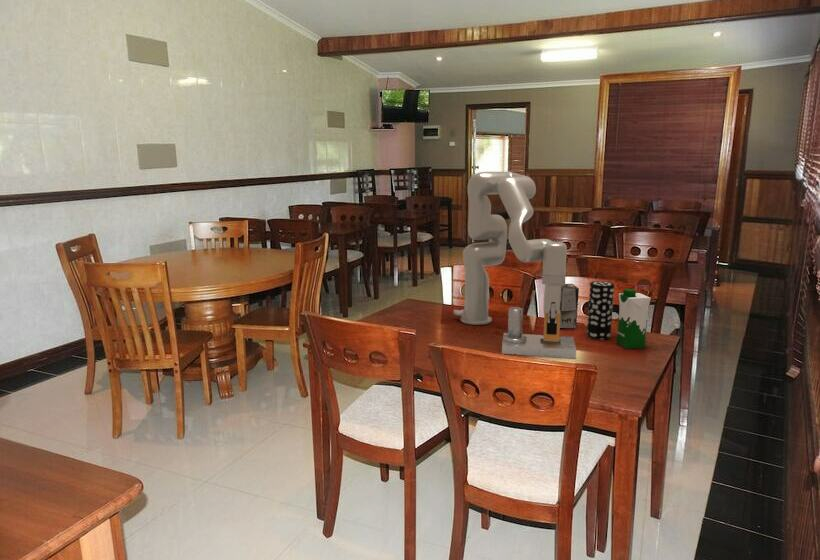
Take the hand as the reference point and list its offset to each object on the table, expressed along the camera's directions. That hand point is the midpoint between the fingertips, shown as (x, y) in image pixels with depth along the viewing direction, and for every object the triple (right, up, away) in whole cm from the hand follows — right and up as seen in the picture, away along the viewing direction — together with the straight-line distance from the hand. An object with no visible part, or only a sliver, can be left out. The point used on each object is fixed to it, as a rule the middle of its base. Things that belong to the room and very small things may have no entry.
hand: (551, 331), depth 194 cm
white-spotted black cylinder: (+21, -4, +16) cm, 27 cm away
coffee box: (+13, -1, +30) cm, 33 cm away
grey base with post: (-4, -6, +2) cm, 8 cm away
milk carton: (+30, -6, +7) cm, 31 cm away
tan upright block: (0, -3, +1) cm, 3 cm away
